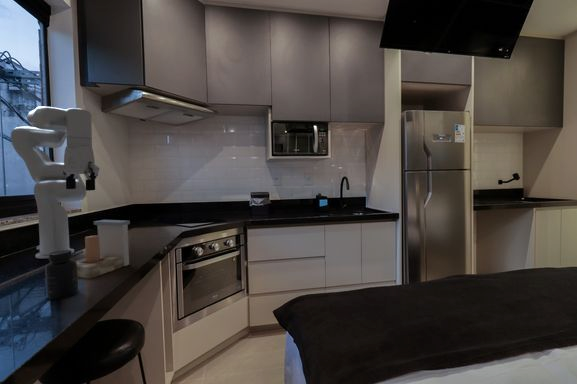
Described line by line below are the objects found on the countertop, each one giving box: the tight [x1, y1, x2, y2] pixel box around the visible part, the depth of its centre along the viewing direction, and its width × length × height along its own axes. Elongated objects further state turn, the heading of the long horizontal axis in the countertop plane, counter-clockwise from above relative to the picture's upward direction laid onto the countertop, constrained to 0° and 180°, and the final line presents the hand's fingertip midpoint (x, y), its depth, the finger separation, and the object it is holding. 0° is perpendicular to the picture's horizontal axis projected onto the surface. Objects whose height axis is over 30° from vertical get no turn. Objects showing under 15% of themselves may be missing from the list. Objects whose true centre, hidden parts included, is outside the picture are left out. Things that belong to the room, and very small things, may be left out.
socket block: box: [75, 255, 123, 279], centre depth 98 cm, size 12×12×4 cm
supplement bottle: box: [44, 250, 80, 301], centre depth 77 cm, size 7×7×12 cm
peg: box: [84, 235, 100, 264], centre depth 98 cm, size 4×4×12 cm
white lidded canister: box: [93, 219, 131, 267], centre depth 105 cm, size 12×4×16 cm, turn 74°
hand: (80, 189), depth 105 cm, fingers open, 9 cm apart
